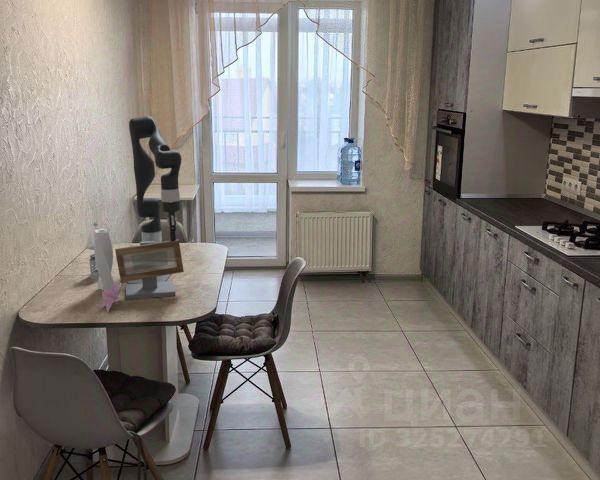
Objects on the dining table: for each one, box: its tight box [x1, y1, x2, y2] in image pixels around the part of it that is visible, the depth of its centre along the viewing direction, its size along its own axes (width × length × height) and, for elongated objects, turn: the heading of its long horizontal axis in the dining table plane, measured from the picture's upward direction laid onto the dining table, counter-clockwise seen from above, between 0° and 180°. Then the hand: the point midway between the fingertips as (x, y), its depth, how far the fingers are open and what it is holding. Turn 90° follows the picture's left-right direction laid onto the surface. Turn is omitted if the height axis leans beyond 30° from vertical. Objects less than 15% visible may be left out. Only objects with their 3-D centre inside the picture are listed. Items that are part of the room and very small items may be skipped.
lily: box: [101, 282, 123, 313], centre depth 253 cm, size 12×12×10 cm
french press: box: [87, 222, 99, 280], centre depth 294 cm, size 10×12×25 cm
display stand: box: [125, 241, 176, 300], centre depth 270 cm, size 16×20×22 cm
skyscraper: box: [93, 225, 115, 291], centre depth 273 cm, size 8×8×28 cm
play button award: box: [126, 274, 173, 284], centre depth 292 cm, size 16×2×20 cm
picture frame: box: [114, 238, 184, 284], centre depth 267 cm, size 2×26×14 cm, turn 105°
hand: (173, 240), depth 268 cm, fingers closed
